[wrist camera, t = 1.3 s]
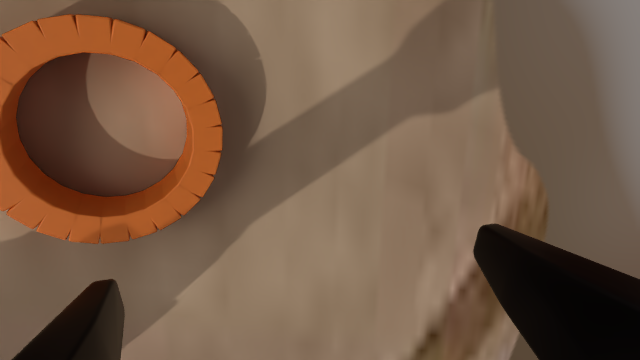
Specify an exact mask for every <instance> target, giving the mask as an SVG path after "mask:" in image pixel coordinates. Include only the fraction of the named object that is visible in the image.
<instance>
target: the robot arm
mask: <svg viewBox="0 0 640 360" xmlns="http://www.w3.org/2000/svg"><path fill="white" fill-rule="evenodd" d="M474 257H475V260H476V261H477V263H478V265H479V267H480V268H481V270H482V272H483V274H484V276H485V277H486V279H487V281H488V283H489V284H490V286H491V288H492V290H493V292H494V293H495V295H496V297H497V299H498V300H499V302H500V304H501V305H502V307H503V308H504V310H505V311H506V313H507V315H508V316H509V317H510V319H511V320H512V322H513V323H514V325H515V326H516V327H517V329H518V330H519V332H520V333H521V335H522V336H523V337H524V339H525V340H526V342H527V343H528V345H529V346H530V348H531V349H532V350H533V352H534V353H535V355H536V356H537V358H538V359H539V360H640V279H637V278H635V277H632V276H630V275H627V274H625V273H622V272H619V271H617V270H614V269H612V268H609V267H606V266H604V265H601V264H599V263H596V262H594V261H591V260H588V259H586V258H583V257H581V256H578V255H576V254H573V253H571V252H568V251H565V250H563V249H560V248H558V247H555V246H553V245H550V244H547V243H545V242H542V241H540V240H537V239H535V238H532V237H529V236H527V235H524V234H522V233H519V232H517V231H514V230H511V229H509V228H506V227H504V226H501V225H499V224H488V225H483V226H481V227H480V229H479V231H478V235H477V238H476V242H475V246H474ZM124 317H125V313H124V306H123V302H122V299H121V295H120V292H119V288H118V285H117V283H116V281H115V280H113V279H108V280H101V281H95V282H93V283H91V284H90V285H89V286H88V287H87V288H86V289H85V290H84V291H83V292H82V293H81V294H80V295H79V296H78V297H77V298H76V299H75V300H73V301H72V302H71V303H70V304H69V305H68V306H67V307H66V308H65V309H64V310H63V311H62V312H61V313H60V314H59V315H58V316H57V317H56V318H55V319H54V320H53V321H52V322H51V323H49V324H48V325H47V326H46V327H45V328H44V329H43V330H42V331H41V332H40V333H39V334H38V335H37V336H36V337H35V338H34V339H33V340H32V341H31V342H30V343H29V344H28V345H27V346H25V347H24V348H23V349H22V350H21V351H20V352H19V353H18V354H17V355H16V356H15V357H14V358H13V359H12V360H120V358H121V348H122V338H123V328H124Z"/></svg>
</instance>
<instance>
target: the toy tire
mask: <svg viewBox="0 0 640 360" xmlns="http://www.w3.org/2000/svg"><path fill="white" fill-rule="evenodd" d="M145 33H146V34H145ZM2 36H3V37H0V210H1V211H5V210H7V209H9V208H10V209H9V210H8V211H7V215H8V216H10V217H12V218H13V219H15V220H17V221H19V222H20V223H22V224H24V225H26V226H27V227H29V228H31V229H34V228H35V227H36V226H37V225H38V224H39V223H40V224H39V226H38V228H37V232H40V233H43V234H47V235H50V236H53V237H56V238H59V239H63V240H66V239H67V237H68V235H69V234H70V236H69V241H72V242H83V243H94V244H98V243H99V239H100V237H101V243H102V244H104V243H113V242H122V241H129V239H130V236H131V238H132V239H136V238H139V237H142V236H145V235H148V234H151V233H155V232H157V227H158V229H159V230H162V229H163V228H165V227H167V226H168V225H170V224H172V223H174V222H175V221H177V220H179V219H180V218H181V214H182V215H185V214H186V213H187V212H188V211H189V210H190V209H191V208H192V207H194V206H195V205H196V204H197V203H198V202H199V201H200V197H203V196H204V194H205V193H206V191H207V189H208V188H209V186H210V184H211V183H212V181H213V179H214V176H213V175H214V174H216V171H217V168H218V164H219V161H220V157H221V152H220V151H221V150H222V132H223V128H222V126H221V125H220V124H222V122H221V118H220V114H219V110H218V107H217V103H216V100H215V99H214V95H213V94H212V92H211V90H210V88H209V87H208V85H207V83H206V82H205V80H204V78H203V76H202V75H201V74H200V73H199V71H198V70H197V68H196V67H195V66H194V65H193V64H192V63H191V62H190V61H189V60H188V59H187V58H186V57H185V56H184V55H183V54H182V53H181V52H180V51H179V50H177V49H176V48H175V47H174V46H172V45H171V44H169V43H167V42H166V41H164V40H163V39H161V38H160V37H158V36H156V35H155V34H153V33H152V32H150V31H147V32H146V31H145V29H144V28H141V27H138V26H136V25H133V24H130V23H127V22H124V21H121V20H118V19H114V20H113V19H112V18H109V17H101V16H91V15H81V14H77V15H72V14H68V15H62V16H55V17H49V18H42V19H38V20H37V21H30V22H28V23H26V24H24V25H22V26H19V27H17V28H15V29H13V30H11V31H8V32H6V33H4V34H2ZM83 52H85V53H100V54H112V55H115V56H118V57H121V58H125V59H128V60H131V61H134V62H137V63H138V64H140V65H142V66H143V67H145V68H147V69H149V70H150V71H152V72H154V73H155V74H157V75H158V76H159V77H160V78H161V79H162V80H164V81H165V82H166V83H167V84H168V85H169V86H170V87H171V88H172V89H173V90H174V91H175V93H176V94H177V96H178V97H179V99H180V101H181V102H182V105H183V109H184V112H185V115H186V118H187V139H186V143H185V147H184V150H183V153H182V155H181V157H180V158H179V160H178V162H177V164H176V165H175V167H174V169H172V170H171V171H170V172H169V173H168V174H167V175H166V176H165V177H164V178H163V179H162V180H161V181H159V182H158V183H156V184H154V185H152V186H151V187H149V188H147V189H145V190H143V191H140V192H137V193H133V194H130V195H126V196H111V197H103V196H96V195H89V194H83V193H80V192H77V191H75V190H72V189H69V188H67V187H64V186H62V185H60V184H59V183H57V182H56V181H54V180H53V179H51V178H50V177H48V176H47V175H45V174H44V173H43V172H42V171H41V170H40V169H39V168H38V167H37V166H36V164H35V163H34V162H33V161H32V160H31V159H30V158H29V156H28V154H27V152H26V150H25V148H24V146H23V144H22V143H21V141H20V139H19V133H18V127H17V121H16V114H17V107H18V101H19V96H20V94H21V93H22V91H23V89H24V87H25V85H26V83H27V81H28V80H29V78H30V77H31V76H32V75H33V74H34V73H35V72H37V71H38V70H39V69H40V68H41V67H42V66H43V65H44V64H45V63H47V62H49V61H51V60H53V59H55V58H57V57H61V56H66V55H72V54H77V53H83Z"/></svg>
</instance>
